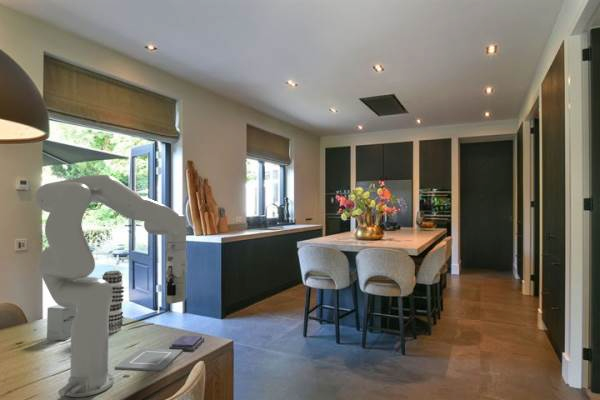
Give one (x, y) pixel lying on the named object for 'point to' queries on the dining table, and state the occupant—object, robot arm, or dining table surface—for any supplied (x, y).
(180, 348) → the ink pad
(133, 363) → the card
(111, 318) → the decorative candle
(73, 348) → the robot arm
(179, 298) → the skincare box
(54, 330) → the supplement box
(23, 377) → the dining table surface
